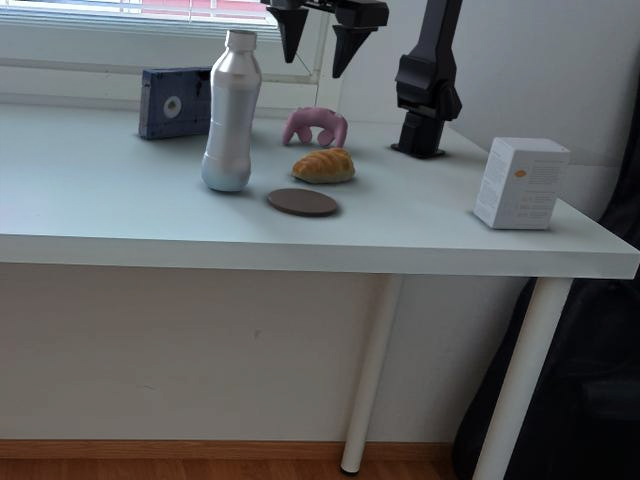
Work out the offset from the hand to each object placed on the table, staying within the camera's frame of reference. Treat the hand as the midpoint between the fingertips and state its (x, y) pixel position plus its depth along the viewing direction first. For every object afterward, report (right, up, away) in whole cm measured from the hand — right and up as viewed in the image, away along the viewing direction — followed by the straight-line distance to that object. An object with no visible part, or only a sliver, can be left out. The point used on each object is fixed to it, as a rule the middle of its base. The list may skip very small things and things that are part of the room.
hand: (311, 70), depth 117 cm
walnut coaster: (-2, -19, -5) cm, 20 cm away
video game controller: (+4, -6, +19) cm, 20 cm away
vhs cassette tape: (-16, -3, +20) cm, 26 cm away
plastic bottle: (-12, -17, -2) cm, 21 cm away
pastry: (+3, -14, +6) cm, 15 cm away
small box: (+25, -22, -4) cm, 34 cm away
